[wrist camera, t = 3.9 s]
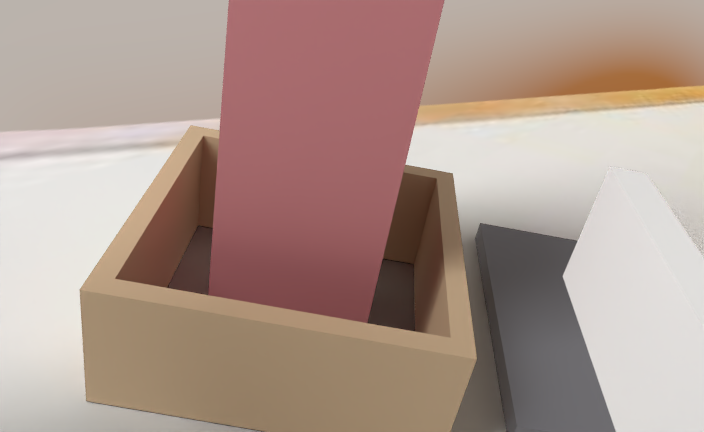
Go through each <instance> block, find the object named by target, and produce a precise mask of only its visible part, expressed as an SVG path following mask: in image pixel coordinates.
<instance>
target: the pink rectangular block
mask: <svg viewBox="0 0 704 432" xmlns="http://www.w3.org/2000/svg"><path fill="white" fill-rule="evenodd" d="M443 4H444V0H229V7H228V22H227V35H226V50H225V63H224V77H223V78H224V79H223V91H222V106H221V119H220V134H219V148H218V162H217V176H216V190H215V204H214V218H213V233H212V247H211V261H210V275H209V289H208V295H210V296H216V297H222V298H227V299H233V300H239V301H244V302H250V303H256V304H261V305H267V306H273V307H278V308H284V309H290V310H295V311H301V312H307V313H312V314H318V315H324V316H330V317H335V318H341V319H347V320H352V321H358V322H364V323H367V322H368V318H369V314H370V310H371V306H372V301H373V297H374V293H375V289H376V285H377V280H378V276H379V272H380V268H381V264H382V260H383V255H384V251H385V247H386V243H387V239H388V234H389V230H390V226H391V222H392V218H393V213H394V209H395V205H396V201H397V197H398V193H399V188H400V184H401V180H402V176H403V172H404V167H405V163H406V159H407V155H408V151H409V146H410V142H411V138H412V134H413V130H414V126H415V121H416V117H417V113H418V109H419V105H420V100H421V96H422V92H423V88H424V84H425V79H426V75H427V71H428V67H429V63H430V59H431V54H432V50H433V46H434V42H435V37H436V33H437V29H438V25H439V21H440V17H441V12H442V8H443Z"/></svg>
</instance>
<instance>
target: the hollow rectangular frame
mask: <svg viewBox="0 0 704 432" xmlns="http://www.w3.org/2000/svg"><path fill="white" fill-rule="evenodd" d="M219 134H220V131H219V130H213V129H208V128H202V127H197V126H190V127H189V129H188V130H187V132H186V133H185V135H184V136H183V138H182V139H181V141H180V142H179V143H178V145H177V146H176V148H175V149H174V151H173V152H172V154H171V155H170V157H169V158H168V160H167V161H166V163H165V164H164V166H163V167H162V169H161V170H160V172H159V173H158V175H157V176H156V178H155V179H154V180H153V182H152V183H151V185H150V186H149V188H148V189H147V191H146V192H145V194H144V195H143V197H142V198H141V200H140V201H139V203H138V204H137V206H136V207H135V209H134V210H133V212H132V213H131V215H130V216H129V217H128V219H127V220H126V222H125V223H124V225H123V226H122V228H121V229H120V231H119V232H118V234H117V235H116V237H115V238H114V240H113V241H112V243H111V244H110V246H109V247H108V249H107V250H106V252H105V253H104V254H103V256H102V257H101V259H100V260H99V262H98V263H97V265H96V266H95V268H94V269H93V271H92V272H91V274H90V275H89V277H88V278H87V280H86V281H85V283H84V284H83V286H82V287H81V289H80V303H81V320H82V337H83V353H84V370H85V387H86V401H89V402H95V403H101V404H107V405H113V406H119V407H125V408H130V409H136V410H142V411H148V412H154V413H160V414H166V415H172V416H177V417H183V418H189V419H195V420H201V421H207V422H213V423H219V424H224V425H230V426H236V427H242V428H248V429H254V430H260V431H266V432H451V429H452V426H453V423H454V421H455V418H456V415H457V412H458V410H459V407H460V404H461V402H462V399H463V396H464V393H465V391H466V388H467V385H468V382H469V380H470V377H471V374H472V372H473V369H474V366H475V363H476V361H477V355H476V348H475V340H474V333H473V325H472V317H471V310H470V302H469V294H468V287H467V279H466V271H465V264H464V256H463V248H462V241H461V233H460V225H459V218H458V210H457V202H456V195H455V187H454V179H453V173H447V172H442V171H436V170H431V169H426V168H420V167H415V166H409V165H405V167H404V172H403V176H402V180H401V184H400V188H399V193H398V197H397V201H396V205H395V209H394V213H393V218H392V222H391V226H390V230H389V234H388V239H387V243H386V247H385V251H384V255H383V259H389V260H394V261H400V262H405V263H411V264H414V299H415V331H409V330H403V329H398V328H392V327H386V326H381V325H375V324H369V323H364V322H358V321H352V320H347V319H341V318H335V317H330V316H324V315H318V314H312V313H307V312H301V311H295V310H290V309H284V308H278V307H273V306H267V305H261V304H256V303H250V302H244V301H239V300H233V299H227V298H222V297H216V296H210V295H205V294H199V293H193V292H188V291H182V290H176V289H170V288H167V287H168V285H169V283H170V281H171V279H172V277H173V275H174V273H175V271H176V269H177V267H178V265H179V263H180V261H181V259H182V257H183V255H184V253H185V251H186V249H187V247H188V245H189V243H190V241H191V239H192V237H193V235H194V233H195V231H196V229H197V227H198V225H199V226H204V227H210V228H213V218H214V204H215V190H216V176H217V162H218V148H219Z"/></svg>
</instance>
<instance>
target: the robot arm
mask: <svg viewBox="0 0 704 432" xmlns="http://www.w3.org/2000/svg"><path fill="white" fill-rule="evenodd" d="M563 279H564V282H565V285H566V288H567V291H568V293H569V296H570V299H571V302H572V305H573V308H574V311H575V314H576V317H577V320H578V323H579V326H580V328H581V331H582V334H583V337H584V340H585V343H586V346H587V349H588V352H589V355H590V358H591V361H592V363H593V366H594V369H595V372H596V375H597V378H598V381H599V384H600V387H601V390H602V393H603V396H604V399H605V401H606V404H607V407H608V410H609V413H610V416H611V419H612V422H613V425H614V428H615V431H616V432H704V257H703V255H702V254H701V252H700V251H699V249H698V248H697V246H696V245H695V244H694V242H693V241H692V239H691V238H690V236H689V235H688V233H687V232H686V230H685V229H684V227H683V226H682V224H681V223H680V221H679V220H678V218H677V217H676V215H675V214H674V212H673V211H672V209H671V208H670V206H669V205H668V203H667V202H666V200H665V199H664V198H663V196H662V195H661V193H660V192H659V190H658V189H657V187H656V186H655V184H654V183H653V181H652V180H651V178H650V177H649V175H648V174H647V173H643V172H638V171H633V170H628V169H622V168H617V167H612V166H609V169H608V171H607V173H606V176H605V178H604V181H603V183H602V185H601V188H600V190H599V192H598V195H597V197H596V199H595V202H594V204H593V206H592V209H591V211H590V213H589V216H588V218H587V220H586V223H585V225H584V227H583V230H582V232H581V234H580V237H579V239H578V241H577V244H576V246H575V248H574V251H573V253H572V255H571V258H570V260H569V262H568V265H567V267H566V269H565V272H564V274H563Z"/></svg>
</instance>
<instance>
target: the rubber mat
mask: <svg viewBox="0 0 704 432" xmlns="http://www.w3.org/2000/svg"><path fill="white" fill-rule="evenodd" d="M475 239H476V245H477V251H478V257H479V264H480V270H481V276H482V282H483V288H484V294H485V300H486V306H487V312H488V319H489V325H490V331H491V337H492V343H493V349H494V355H495V361H496V368H497V374H498V380H499V386H500V392H501V398H502V404H503V410H504V416H505V423H506V429H507V432H616V431H615V428H614V425H613V422H612V419H611V416H610V413H609V410H608V407H607V404H606V401H605V399H604V396H603V393H602V390H601V387H600V384H599V381H598V378H597V375H596V372H595V369H594V366H593V363H592V361H591V358H590V355H589V352H588V349H587V346H586V343H585V340H584V337H583V334H582V331H581V328H580V326H579V323H578V320H577V317H576V314H575V311H574V308H573V305H572V302H571V299H570V296H569V293H568V291H567V288H566V285H565V282H564V279H563V274H564V272H565V269H566V267H567V265H568V262H569V260H570V258H571V255H572V253H573V251H574V248H575V246H576V244H577V241H575V240H570V239H564V238H559V237H553V236H548V235H542V234H537V233H531V232H526V231H520V230H515V229H509V228H504V227H498V226H493V225H487V224H482V223H480V225H479V229H478V232H477V235H476V238H475Z"/></svg>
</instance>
